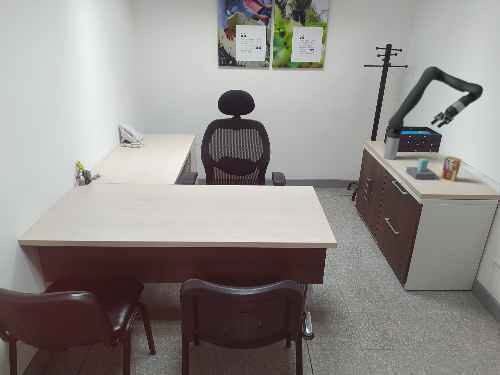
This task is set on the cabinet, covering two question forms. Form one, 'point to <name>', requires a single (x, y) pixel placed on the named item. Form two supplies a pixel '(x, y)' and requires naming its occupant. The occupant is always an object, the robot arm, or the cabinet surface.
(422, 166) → the teal peg
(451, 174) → the candy box
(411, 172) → the socket block
